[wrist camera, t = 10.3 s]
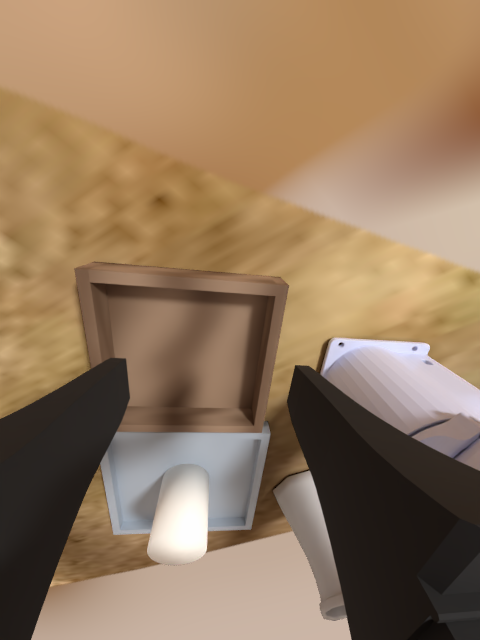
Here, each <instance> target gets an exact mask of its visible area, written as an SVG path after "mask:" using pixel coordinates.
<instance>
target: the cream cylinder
mask: <svg viewBox="0 0 480 640" xmlns="http://www.w3.org/2000/svg"><path fill="white" fill-rule="evenodd" d="M208 504H209V474H208V472H207V471H206V470H205V469H204V468H202V467H200V466H198V465H195V464H179V465H176V466H173V467H171V468H170V469H168V470H167V471H166V472H165V474H164V476H163V479H162V484H161V488H160V493H159V498H158V502H157V507H156V511H155V516H154V521H153V525H152V530H151V534H150V539H149V543H148V548H147V553H148V555H149V557H150V558H151V559H152V560H154V561H156V562H158V563H161V564H165V565H184V564H188V563H192V562H194V561H196V560H198V559H200V558H201V557H202V556H203V555H204V554H205V553H206V550H207V530H208Z"/></svg>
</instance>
